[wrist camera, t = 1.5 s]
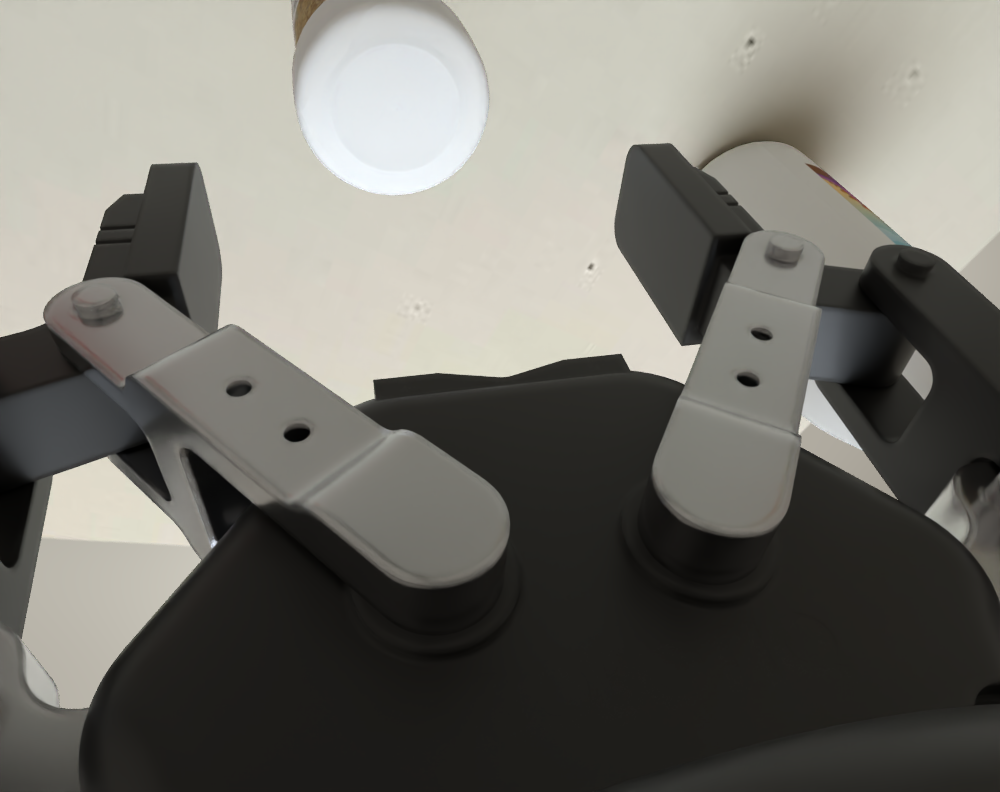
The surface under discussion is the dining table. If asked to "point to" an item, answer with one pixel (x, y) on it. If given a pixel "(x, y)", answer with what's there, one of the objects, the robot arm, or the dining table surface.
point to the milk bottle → (810, 233)
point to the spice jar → (387, 91)
